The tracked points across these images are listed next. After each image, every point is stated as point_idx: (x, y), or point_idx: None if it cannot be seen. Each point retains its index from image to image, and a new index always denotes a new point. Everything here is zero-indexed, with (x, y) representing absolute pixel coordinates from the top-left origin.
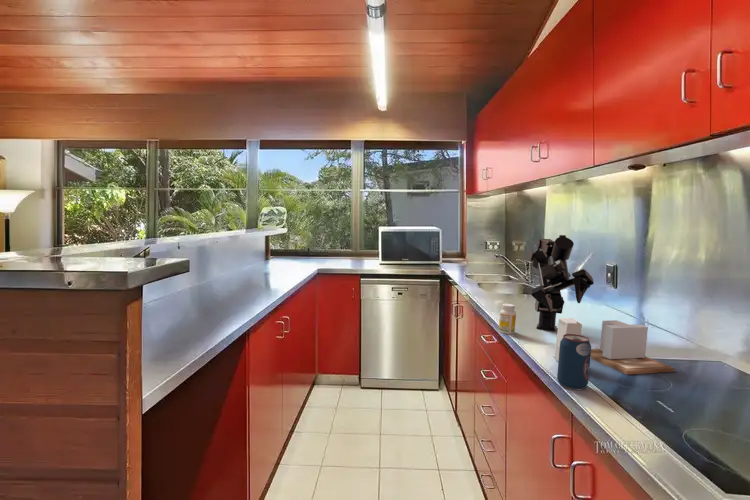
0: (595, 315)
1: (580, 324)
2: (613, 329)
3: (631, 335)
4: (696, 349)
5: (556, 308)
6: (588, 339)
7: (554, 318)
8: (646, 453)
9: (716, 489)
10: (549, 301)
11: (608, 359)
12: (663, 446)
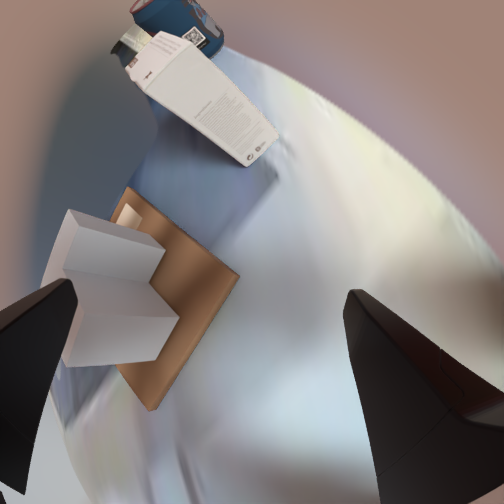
0: None
1: (129, 65)
2: (72, 211)
3: None
4: (93, 489)
5: None
6: (131, 11)
7: None
8: None
9: (122, 37)
10: (400, 445)
11: (155, 239)
12: (133, 43)
